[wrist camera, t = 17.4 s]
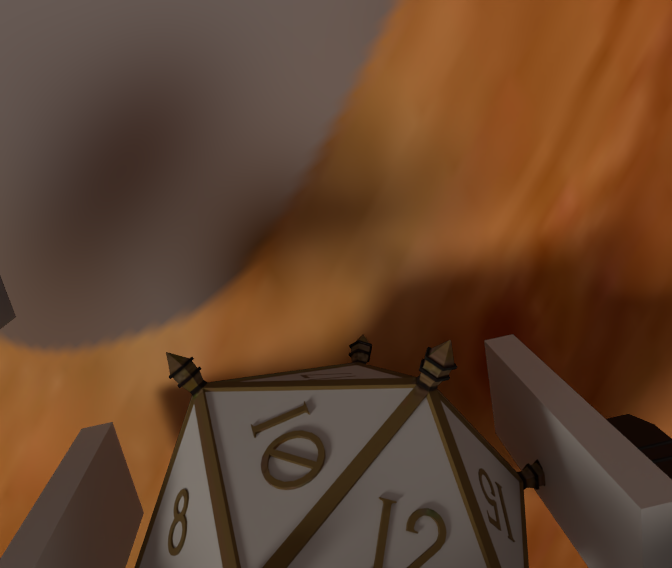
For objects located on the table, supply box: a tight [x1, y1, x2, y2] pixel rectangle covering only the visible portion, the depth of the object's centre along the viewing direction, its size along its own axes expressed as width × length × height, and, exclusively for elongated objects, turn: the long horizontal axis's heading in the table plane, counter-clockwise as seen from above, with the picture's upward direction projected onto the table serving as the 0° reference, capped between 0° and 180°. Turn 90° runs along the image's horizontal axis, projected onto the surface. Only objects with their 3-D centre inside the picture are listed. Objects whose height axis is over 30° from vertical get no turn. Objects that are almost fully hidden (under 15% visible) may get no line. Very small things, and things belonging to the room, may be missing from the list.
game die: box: [135, 334, 545, 568], centre depth 11 cm, size 9×8×10 cm
